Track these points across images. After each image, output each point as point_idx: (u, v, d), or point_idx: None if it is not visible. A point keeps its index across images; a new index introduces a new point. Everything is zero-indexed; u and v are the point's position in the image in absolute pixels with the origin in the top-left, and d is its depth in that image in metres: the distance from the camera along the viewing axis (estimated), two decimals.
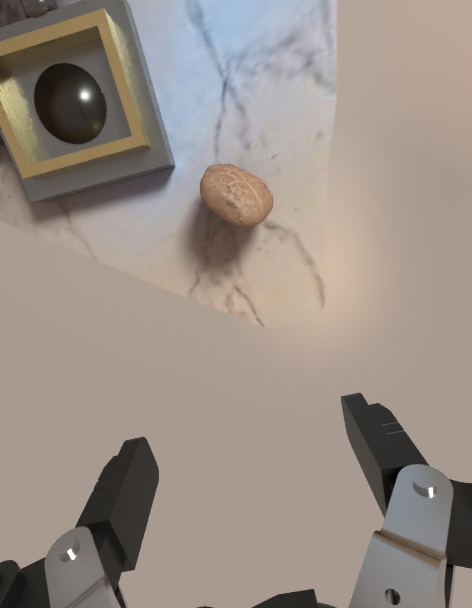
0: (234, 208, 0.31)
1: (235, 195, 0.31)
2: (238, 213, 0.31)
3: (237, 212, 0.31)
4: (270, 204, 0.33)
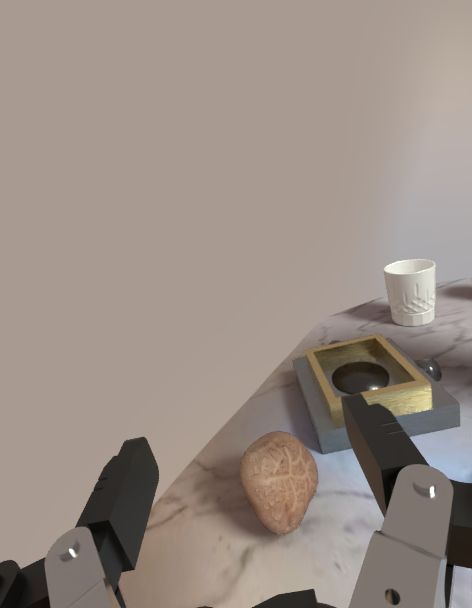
0: (259, 447, 0.29)
1: (272, 449, 0.28)
2: (254, 450, 0.28)
3: (255, 449, 0.28)
4: (263, 505, 0.26)
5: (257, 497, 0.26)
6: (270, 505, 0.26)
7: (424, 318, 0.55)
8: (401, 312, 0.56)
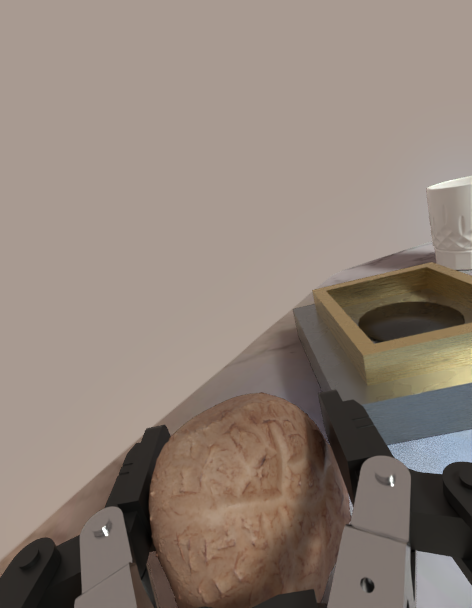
0: (208, 421, 0.11)
1: (240, 428, 0.11)
2: (192, 429, 0.11)
3: (196, 427, 0.11)
4: (196, 591, 0.09)
5: (182, 563, 0.09)
6: (219, 591, 0.09)
7: None
8: (453, 249, 0.39)
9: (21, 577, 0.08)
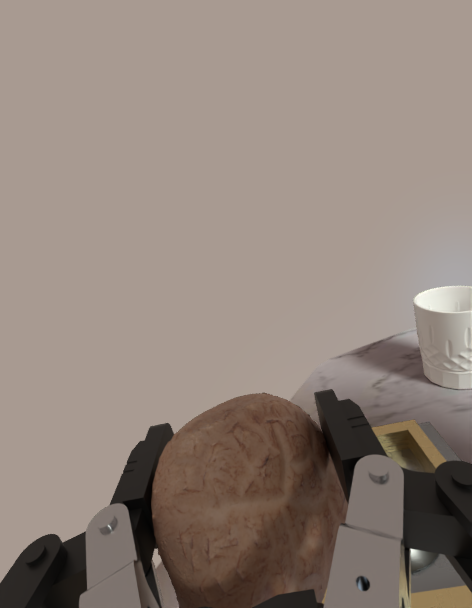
0: (211, 420, 0.11)
1: (243, 428, 0.11)
2: (195, 428, 0.11)
3: (199, 426, 0.11)
4: (198, 589, 0.09)
5: (185, 561, 0.09)
6: (221, 589, 0.09)
7: None
8: (440, 367, 0.37)
9: (27, 573, 0.08)
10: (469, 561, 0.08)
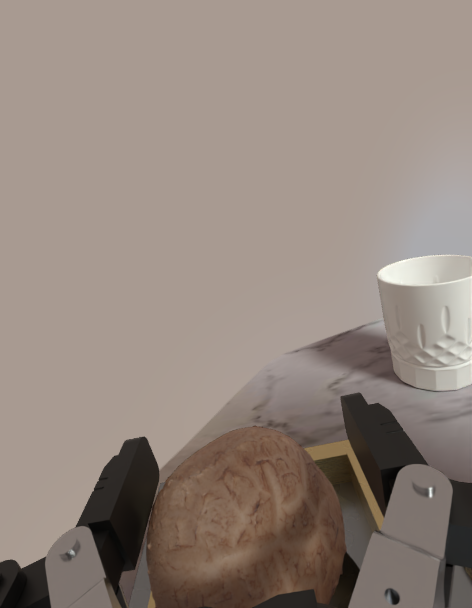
0: (202, 466, 0.11)
1: (234, 473, 0.11)
2: (186, 475, 0.11)
3: (190, 473, 0.11)
4: None
5: None
6: None
7: (460, 377, 0.27)
8: (412, 362, 0.28)
9: None
10: None
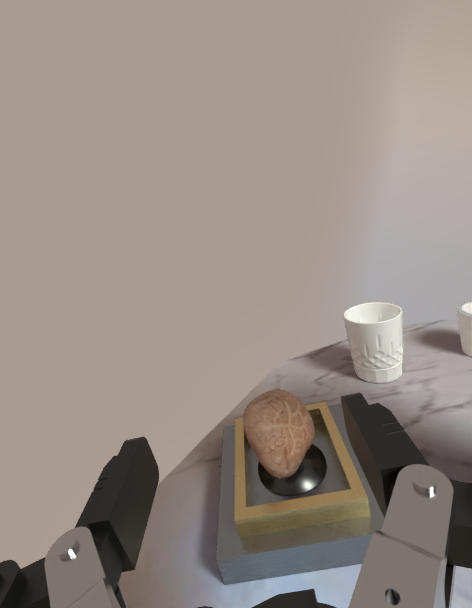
0: (261, 400, 0.31)
1: (273, 402, 0.31)
2: (256, 403, 0.31)
3: (257, 402, 0.31)
4: (264, 449, 0.29)
5: (259, 441, 0.29)
6: (271, 449, 0.29)
7: (389, 374, 0.46)
8: (363, 366, 0.48)
9: None
10: None
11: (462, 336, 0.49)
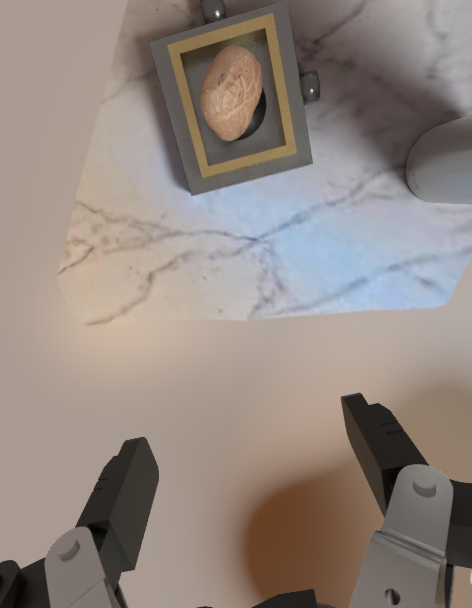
0: (217, 82, 0.29)
1: (230, 83, 0.29)
2: (212, 87, 0.29)
3: (214, 86, 0.29)
4: (223, 133, 0.32)
5: (219, 128, 0.32)
6: (229, 131, 0.32)
7: None
8: None
9: None
10: None
11: None
